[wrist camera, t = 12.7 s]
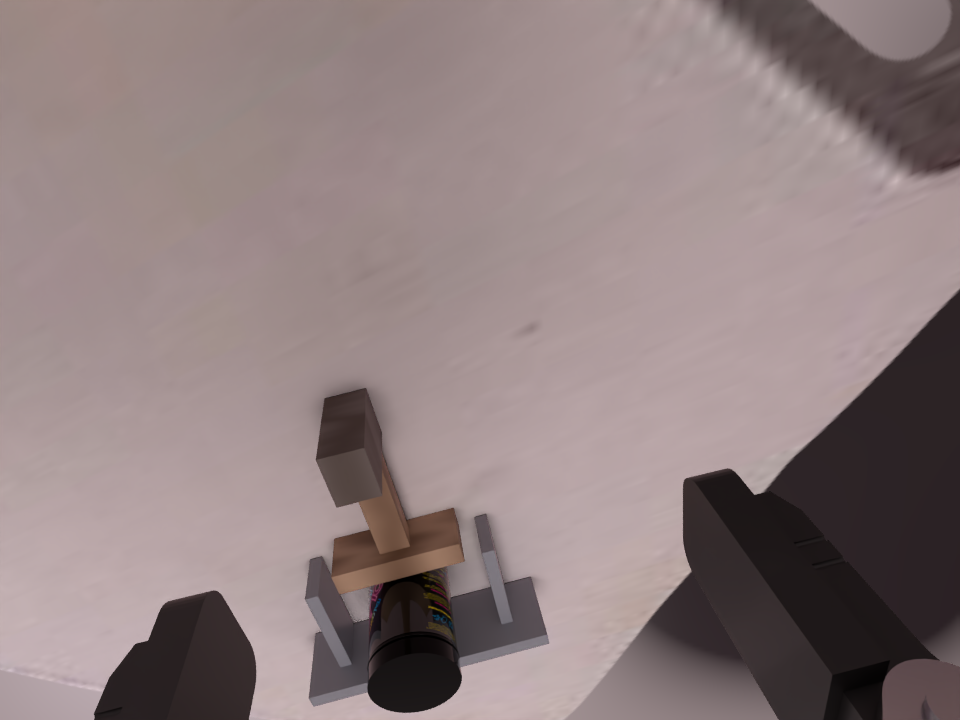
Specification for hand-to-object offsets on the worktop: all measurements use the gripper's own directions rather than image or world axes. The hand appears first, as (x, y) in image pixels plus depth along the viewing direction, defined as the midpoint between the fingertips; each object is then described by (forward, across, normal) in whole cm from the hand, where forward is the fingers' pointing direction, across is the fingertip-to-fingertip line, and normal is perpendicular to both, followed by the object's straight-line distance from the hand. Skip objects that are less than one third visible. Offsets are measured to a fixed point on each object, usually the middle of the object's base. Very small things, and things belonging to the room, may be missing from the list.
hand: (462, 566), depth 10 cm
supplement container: (+30, +7, +32) cm, 44 cm away
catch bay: (+30, +7, +32) cm, 44 cm away
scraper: (+30, +7, +20) cm, 37 cm away
